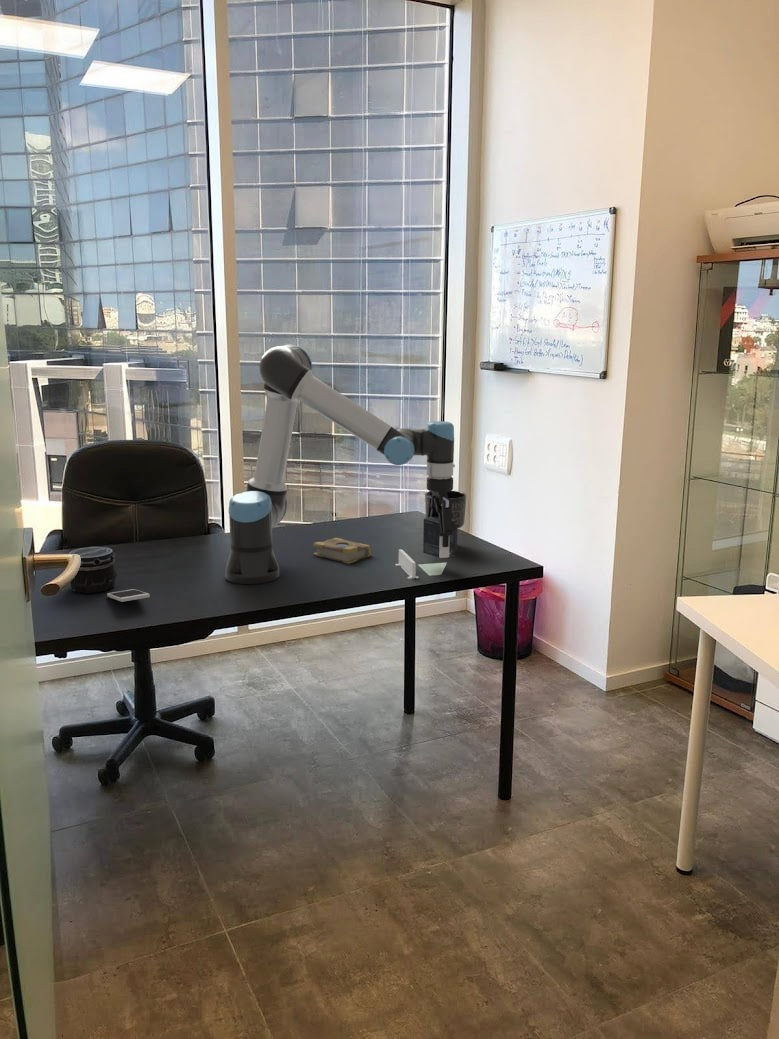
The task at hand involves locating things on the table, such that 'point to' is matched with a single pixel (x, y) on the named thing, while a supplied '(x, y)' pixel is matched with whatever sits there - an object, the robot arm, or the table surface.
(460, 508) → the planter
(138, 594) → the smartphone
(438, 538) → the box
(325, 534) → the table surface
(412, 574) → the handle
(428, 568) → the pad
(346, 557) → the book
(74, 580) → the container
